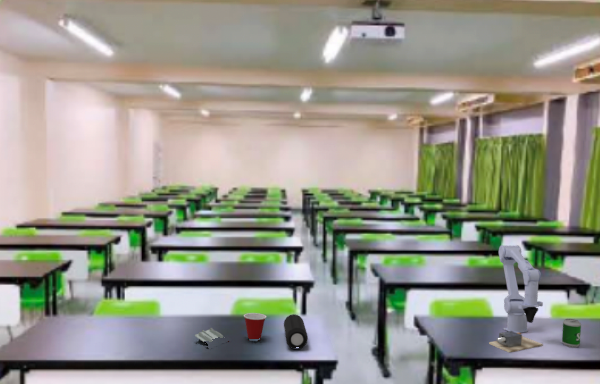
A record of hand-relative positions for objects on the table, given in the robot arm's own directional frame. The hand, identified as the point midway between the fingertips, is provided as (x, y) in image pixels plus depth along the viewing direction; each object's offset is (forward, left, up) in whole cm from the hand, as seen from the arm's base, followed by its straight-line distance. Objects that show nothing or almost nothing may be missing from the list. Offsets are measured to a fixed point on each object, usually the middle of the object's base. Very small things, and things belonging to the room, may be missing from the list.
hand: (529, 322), depth 249 cm
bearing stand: (+10, +1, -9) cm, 14 cm away
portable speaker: (+104, -45, -10) cm, 114 cm away
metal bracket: (+140, -60, -10) cm, 153 cm away
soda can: (-14, +12, -10) cm, 21 cm away
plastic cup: (+121, -54, -10) cm, 133 cm away
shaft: (+15, +1, -7) cm, 17 cm away
